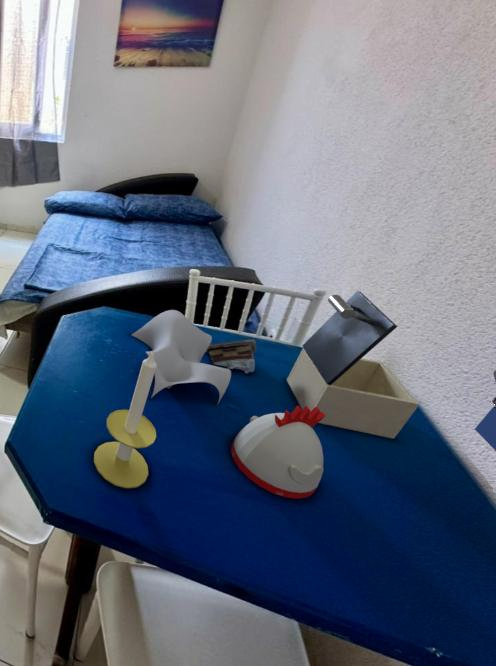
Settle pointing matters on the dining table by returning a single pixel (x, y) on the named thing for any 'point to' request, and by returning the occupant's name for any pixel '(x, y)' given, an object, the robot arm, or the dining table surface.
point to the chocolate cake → (234, 354)
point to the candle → (129, 437)
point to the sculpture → (180, 352)
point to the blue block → (488, 428)
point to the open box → (354, 396)
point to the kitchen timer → (282, 452)
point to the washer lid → (347, 335)
